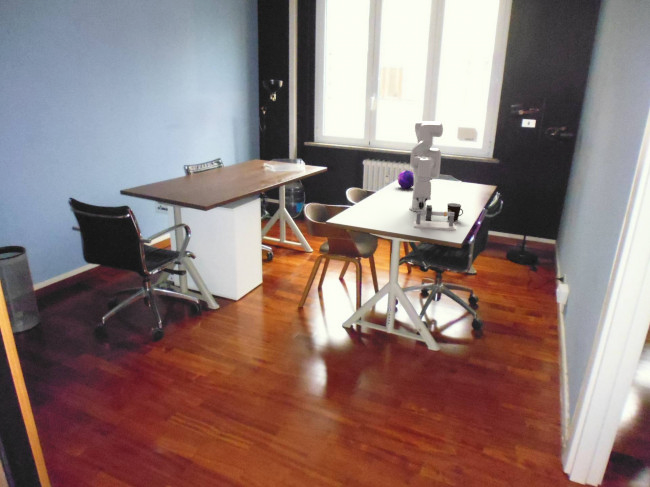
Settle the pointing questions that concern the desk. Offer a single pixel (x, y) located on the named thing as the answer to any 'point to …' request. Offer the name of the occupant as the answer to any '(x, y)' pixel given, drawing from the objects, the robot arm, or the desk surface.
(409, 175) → the decorative orb
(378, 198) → the desk surface
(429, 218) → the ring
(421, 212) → the rail fixture
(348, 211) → the desk surface
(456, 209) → the coffee mug
